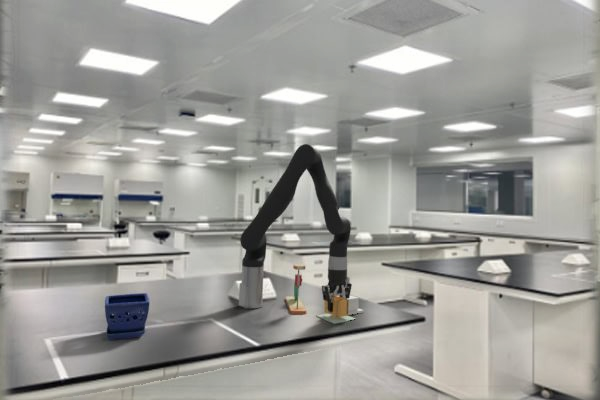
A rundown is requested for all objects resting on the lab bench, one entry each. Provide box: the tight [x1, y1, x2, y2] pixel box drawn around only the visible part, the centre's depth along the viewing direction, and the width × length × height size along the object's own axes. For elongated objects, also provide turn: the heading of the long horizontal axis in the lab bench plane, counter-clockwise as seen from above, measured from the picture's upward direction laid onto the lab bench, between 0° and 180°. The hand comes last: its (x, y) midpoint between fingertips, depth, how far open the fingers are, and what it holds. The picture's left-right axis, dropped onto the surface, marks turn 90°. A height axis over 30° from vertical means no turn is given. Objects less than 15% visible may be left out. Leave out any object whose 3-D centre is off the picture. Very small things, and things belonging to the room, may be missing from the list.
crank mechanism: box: [284, 263, 307, 315], centre depth 174 cm, size 25×7×19 cm, turn 7°
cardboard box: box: [324, 295, 349, 317], centre depth 158 cm, size 5×8×6 cm
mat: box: [316, 313, 357, 325], centre depth 158 cm, size 11×11×1 cm
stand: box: [345, 275, 365, 316], centre depth 169 cm, size 10×10×14 cm
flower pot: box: [104, 292, 150, 341], centre depth 131 cm, size 13×13×12 cm
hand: (336, 310), depth 158 cm, fingers closed on cardboard box, 5 cm apart
